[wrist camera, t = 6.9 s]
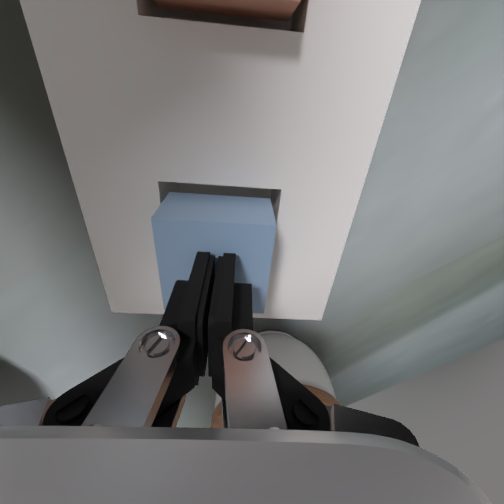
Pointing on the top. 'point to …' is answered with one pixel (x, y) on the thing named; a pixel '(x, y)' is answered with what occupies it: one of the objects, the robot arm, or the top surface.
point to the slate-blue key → (215, 238)
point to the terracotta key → (237, 7)
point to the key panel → (219, 126)
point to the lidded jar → (292, 369)
